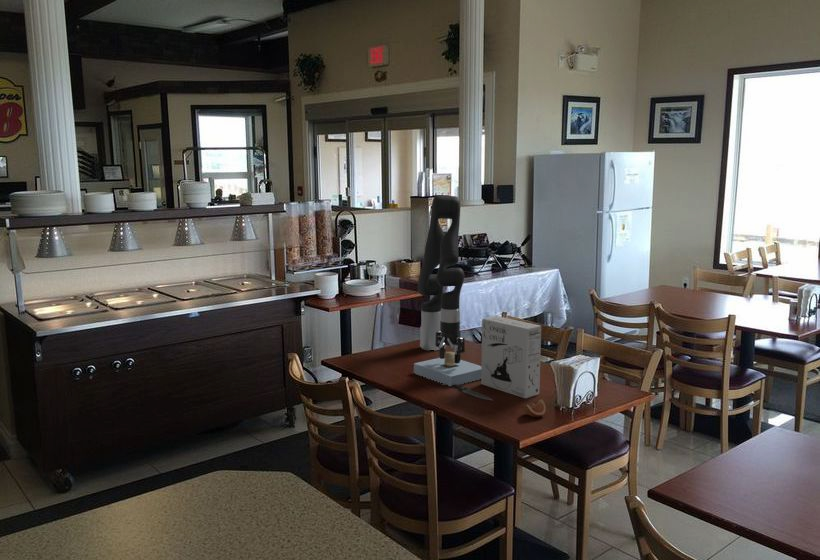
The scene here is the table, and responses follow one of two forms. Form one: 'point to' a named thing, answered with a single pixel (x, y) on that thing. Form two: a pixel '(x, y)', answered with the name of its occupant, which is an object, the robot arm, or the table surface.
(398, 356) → the table surface
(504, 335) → the cereal box
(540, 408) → the fruit slice
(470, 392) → the knife
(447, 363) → the peg
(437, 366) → the board
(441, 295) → the robot arm
